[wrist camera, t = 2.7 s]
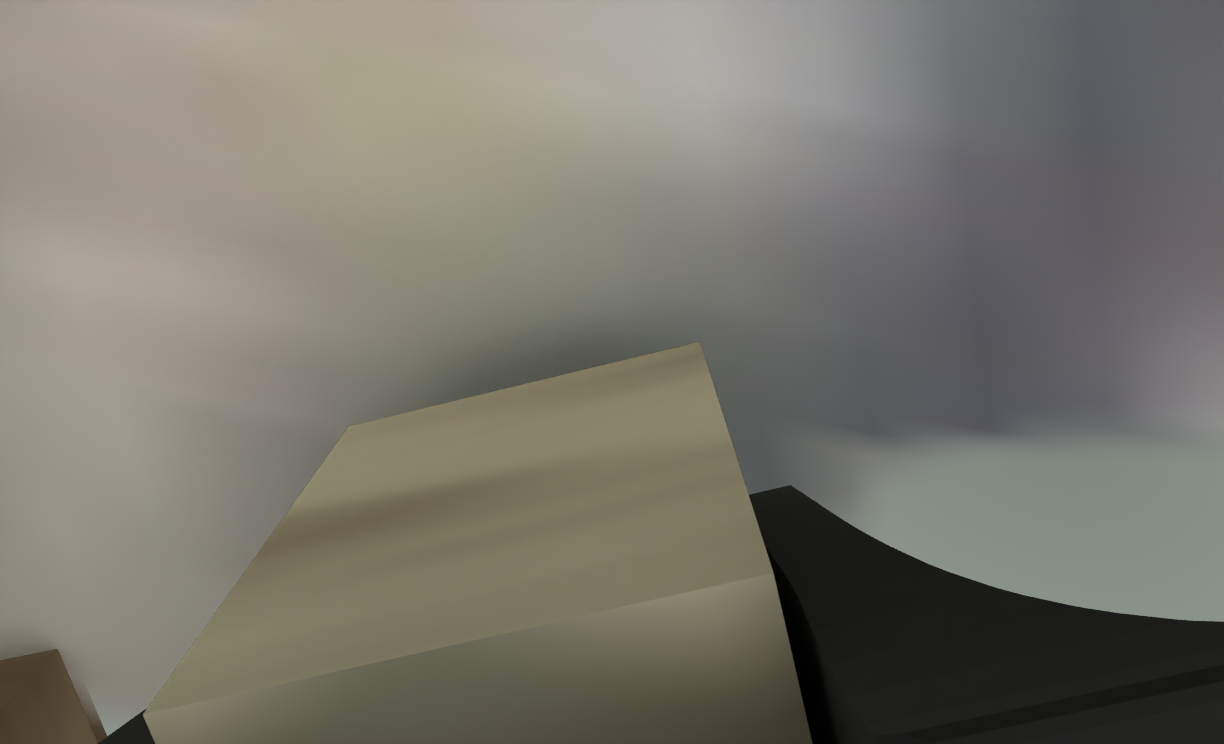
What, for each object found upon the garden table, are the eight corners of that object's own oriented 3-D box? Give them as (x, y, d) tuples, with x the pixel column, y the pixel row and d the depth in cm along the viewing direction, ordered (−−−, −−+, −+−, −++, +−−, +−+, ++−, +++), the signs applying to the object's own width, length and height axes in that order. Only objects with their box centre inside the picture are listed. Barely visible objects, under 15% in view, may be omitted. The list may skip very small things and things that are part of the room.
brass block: (773, 656, 14) (887, 1071, 8) (451, 726, 14) (344, 1174, 9) (699, 340, 13) (773, 573, 7) (348, 427, 13) (143, 714, 7)
